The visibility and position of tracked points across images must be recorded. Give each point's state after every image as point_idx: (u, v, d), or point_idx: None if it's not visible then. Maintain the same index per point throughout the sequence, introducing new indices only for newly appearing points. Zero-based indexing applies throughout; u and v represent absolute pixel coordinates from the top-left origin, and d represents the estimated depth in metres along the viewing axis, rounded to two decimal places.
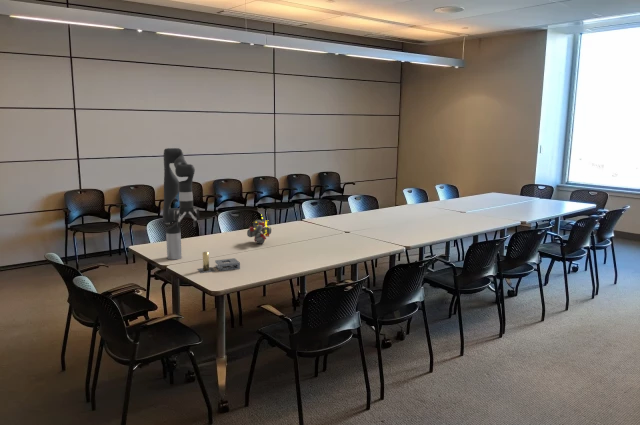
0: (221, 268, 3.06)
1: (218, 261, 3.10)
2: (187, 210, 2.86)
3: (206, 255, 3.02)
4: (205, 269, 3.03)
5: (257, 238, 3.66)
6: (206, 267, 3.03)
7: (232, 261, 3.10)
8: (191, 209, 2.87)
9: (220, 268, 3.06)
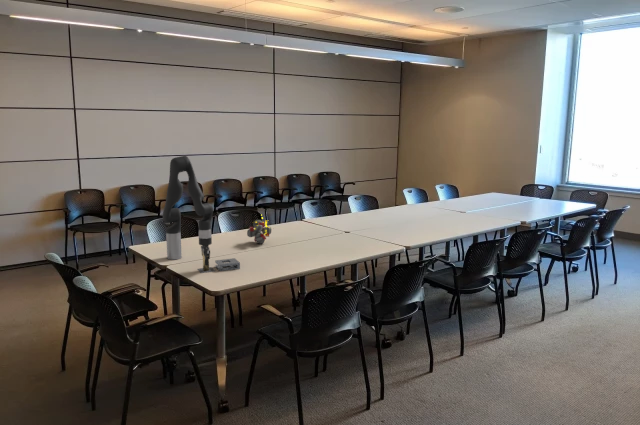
0: (221, 268, 3.06)
1: (218, 261, 3.10)
2: None
3: None
4: (205, 269, 3.03)
5: (257, 238, 3.66)
6: (206, 267, 3.03)
7: (232, 261, 3.10)
8: None
9: (220, 268, 3.06)
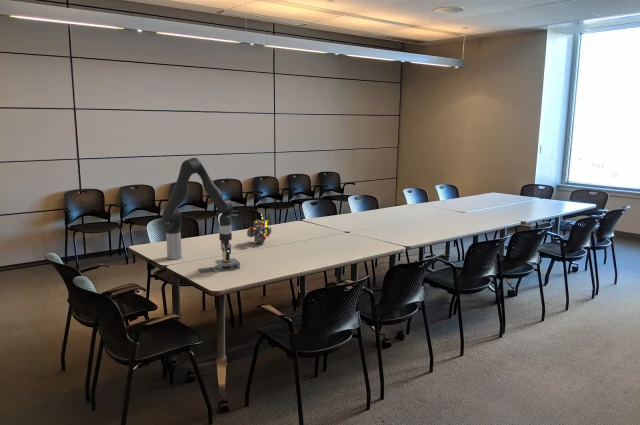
0: (221, 268, 3.06)
1: (218, 261, 3.10)
2: None
3: None
4: (225, 267, 3.09)
5: (257, 238, 3.66)
6: (226, 266, 3.08)
7: (232, 261, 3.10)
8: None
9: (220, 268, 3.06)
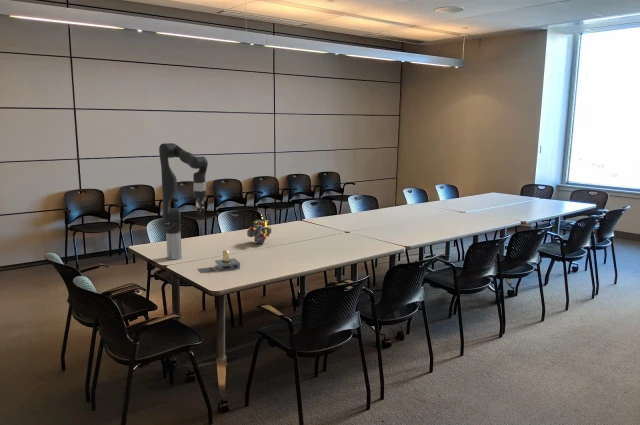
0: (221, 268, 3.06)
1: (218, 261, 3.10)
2: None
3: (226, 253, 3.07)
4: (225, 267, 3.09)
5: (257, 238, 3.66)
6: (226, 266, 3.08)
7: (232, 261, 3.10)
8: None
9: (220, 268, 3.06)
